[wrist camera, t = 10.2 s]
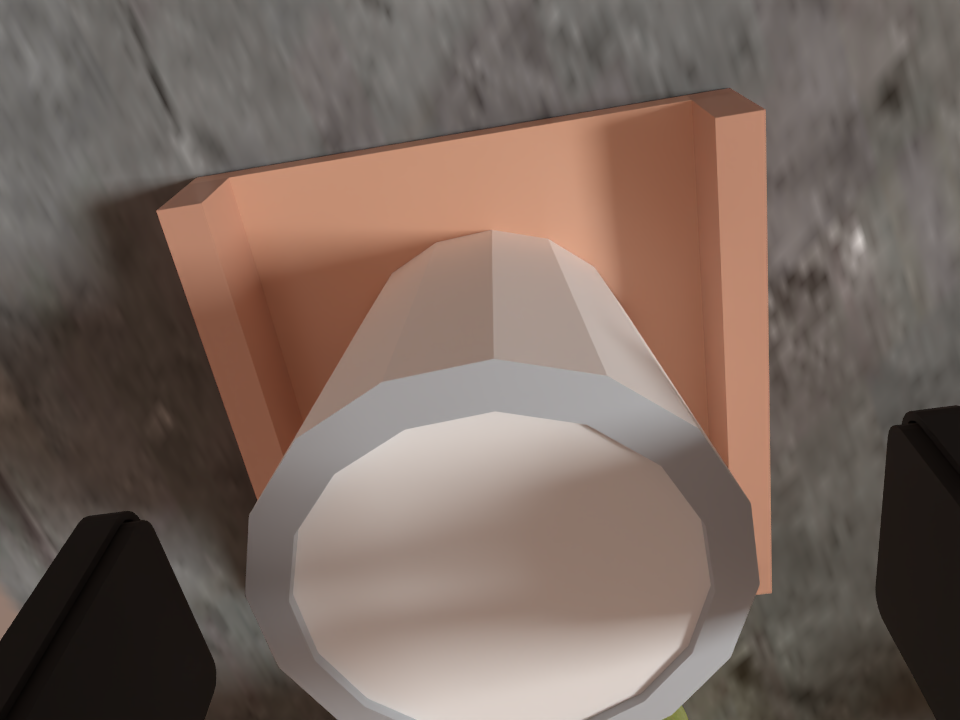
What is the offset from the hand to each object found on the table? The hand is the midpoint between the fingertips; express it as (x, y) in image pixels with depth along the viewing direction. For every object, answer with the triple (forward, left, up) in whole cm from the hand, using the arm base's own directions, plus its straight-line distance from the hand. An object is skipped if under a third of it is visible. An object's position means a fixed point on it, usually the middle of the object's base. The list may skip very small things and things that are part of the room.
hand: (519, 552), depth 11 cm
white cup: (+1, 0, -7) cm, 7 cm away
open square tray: (+1, 0, -8) cm, 8 cm away
